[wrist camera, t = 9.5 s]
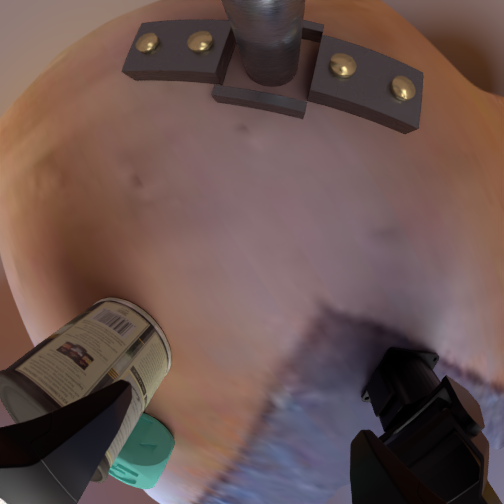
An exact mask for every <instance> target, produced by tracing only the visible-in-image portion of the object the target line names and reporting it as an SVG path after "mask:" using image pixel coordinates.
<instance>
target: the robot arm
mask: <svg viewBox="0 0 504 504" xmlns="http://www.w3.org/2000/svg"><path fill="white" fill-rule="evenodd" d="M391 352H393V353H392V354H390V353H391ZM438 360H439V356H438V354H437V353H431V352H423V351H415V350H408V349H402V348H395V347H391V348H389V349H388V350H387V352H386V354H385V355H384V357H383V359H382V361H381V363H380V365H379V367H378V368H377V369H376V371H375V373H374V374H373V376H372V378H371V380H370V381H369V383H368V385H367V386H366V389H365V391H364V393H363V394H362V396H361V398H362V401H363V402H371V404H372V407H373V410H374V413H375V415H376V417H379V418H380V421H381V424H382V427H383V430H384V432H385V433H384V434H383V435H381V436H380V437H379V438H378V437H377V436H376V435H375V434H374V433H373V432H372V431H371V430H361V431H360V432H359V433H358V434H357V435H356V437H355V438H354V439H353V441H352V442H351V451H350V481H351V491H352V492H351V493H352V504H502V502H501V501H500V499H499V497H498V496H497V494H496V493H495V491H494V490H493V488H492V487H491V485H490V484H489V482H488V480H487V476H488V464H489V463H488V462H489V442H488V440H487V439H486V437H485V436H484V434H483V433H482V432H481V430H482V429H483V428H484V427H485V425H484V421H483V417H482V413H481V409H480V405H479V404H478V403H477V401H476V400H475V399H474V398H473V396H472V395H471V394H470V393H469V391H468V390H467V389H465V388H464V387H462V386H461V385H460V384H458V383H457V382H455V381H454V380H453V379H451V378H450V377H448V376H447V375H446V376H445V377H444V378H443V379H442V382H440V380H439V379H438V377H437V376H436V374H435V373H434V371H433V368H434V367H435V365H436V363H437V361H438ZM365 397H366V398H365ZM131 401H132V385H131V383H130V382H128V381H125V380H123V379H120V380H118V381H116V382H114V383H112V384H110V385H108V386H106V387H104V388H102V389H100V390H98V391H96V392H93V393H91V394H89V395H87V396H85V397H83V398H81V399H79V400H76V401H74V402H72V403H70V404H68V405H66V406H63V407H61V408H59V409H57V410H54V411H52V412H50V413H47V414H45V415H42V416H40V417H37V418H35V419H32V420H28V421H25V422H21V423H17V424H13V425H9V426H5V427H0V504H77V503H78V501H79V499H80V498H81V496H82V494H83V492H84V490H85V489H86V487H87V485H88V483H89V481H90V480H91V478H92V476H93V475H94V473H95V471H96V469H97V468H98V466H99V464H100V462H101V461H102V459H103V457H104V455H105V454H106V452H107V450H108V449H109V447H110V445H111V443H112V442H113V440H114V438H115V437H116V435H117V433H118V431H119V429H120V427H121V424H122V422H123V420H124V417H125V415H126V413H127V410H128V408H129V406H130V403H131Z"/></svg>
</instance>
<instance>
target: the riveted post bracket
mask: <svg viewBox="0 0 504 504" xmlns="http://www.w3.org/2000/svg"><path fill="white" fill-rule="evenodd" d="M323 29H324V25H323V24H319V23H314V22H310V21H305V20H303V27H302V36H301V38H302V39H307V40H311V41H315V42H319V43H320V46H319V50H318V55H317V60H316V64H315V69H314V73H313V78H312V82H311V86H310V91H309V95H308V100H307V101H310V102H314V103H318V104H321V105H325V106H328V107H332V108H335V109H338V110H341V111H345V112H348V113H351V114H354V115H357V116H360V117H362V118H365V119H368V120H371V121H373V122H376V123H379V124H381V125H384V126H386V127H389V128H391V129H394V130H396V131H398V132H401V133H403V134H407V133H409V132H412V131H414V130H417V129H419V121H420V112H421V102H422V89H423V72H421V71H419V70H417V69H414V68H412V67H410V66H408V65H406V64H404V63H402V62H399V61H397V60H395V59H392V58H390V57H388V56H385V55H383V54H380V53H378V52H375V51H372V50H370V49H367V48H364V47H361V46H358V45H355V44H352V43H349V42H346V41H343V40H339V39H336V38H332V37H329V36H325V35H322V33H323ZM321 37H322V38H321ZM320 41H321V42H320ZM235 44H236V39H235V36H234V33H233V30H232V28H231V25H230V22H229V20H171V21H158V22H148V23H142V24H141V26H140V28H139V30H138V33H137V35H136V37H135V39H134V41H133V44H132V46H131V49H130V51H129V53H128V56H127V58H126V61H125V64H124V66H123V69H122V72H123V73H125V74H126V75H128V76H129V77H131V78H132V79H134V80H163V81H186V82H200V83H211V84H220V85H222V84H223V81H224V78H225V75H226V71H227V68H228V65H229V62H230V59H231V56H232V53H233V50H234V47H235ZM211 95H212V96H213V98H214V99H215V100H216V101H217V102H219V103H226V104H232V105H239V106H245V107H250V108H256V109H261V110H266V111H271V112H276V113H280V114H285V115H289V116H293V117H297V118H301V119H303V117H304V114H305V110H306V106H307V102H305V101H301V100H297V99H293V98H289V97H284V96H280V95H275V94H270V93H265V92H259V91H253V90H247V89H241V88H234V87H227V86H218V85H214V88H213V91H212V94H211Z"/></svg>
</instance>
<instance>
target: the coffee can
mask: <svg viewBox="0 0 504 504" xmlns="http://www.w3.org/2000/svg"><path fill="white" fill-rule="evenodd" d="M170 366H171V351H170V346H169V344H168V341H167V339H166V337H165V335H164V333H163V331H162V330H161V328H160V327H159V326H158V324H157V323H156V322H155V321H154V319H153V318H152V317H151V316H150V315H149V314H148V313H147V312H145V311H144V310H142V309H141V308H139V307H138V306H136V305H135V304H133V303H131V302H129V301H126V300H123V299H119V298H112V297H110V298H104V299H101V300H99V301H97V302H96V303H95V304H93V306H91V307H90V308H88V309H87V310H86V311H84V312H83V313H81V314H80V315H79V316H77V317H76V318H74V319H73V320H71V321H70V322H69V323H67V324H66V325H64V326H63V327H62V328H60V329H59V330H58V331H56V332H55V333H53V334H52V335H51V336H49V337H48V338H47V339H45V340H44V341H42V342H41V343H40V344H38V345H37V346H36V347H34V348H33V349H32V350H31V351H29V352H28V353H26V354H25V355H24V356H23V357H21V358H20V359H19V360H17V361H16V362H15V363H14V364H12V365H11V366H10V367H9V368H7V369H6V370H2V371H0V399H1V401H2V402H3V405H4V406H5V408H6V410H7V411H8V413H9V414H10V416H11V417H12V419H13V420H14V421H15V423H16V424H17V423H21V422H25V421H28V420H32V419H35V418H37V417H40V416H42V415H45V414H47V413H50V412H52V411H54V410H57V409H59V408H61V407H63V406H66V405H68V404H70V403H72V402H74V401H76V400H79V399H81V398H83V397H85V396H87V395H89V394H91V393H93V392H96V391H98V390H100V389H102V388H104V387H106V386H108V385H110V384H112V383H114V382H116V381H118V380H120V379H123V380H125V381H128V382H130V383H131V385H132V401H131V403H130V406H129V408H128V410H127V413H126V415H125V417H124V420H123V422H122V424H121V427H120V429H119V431H118V433H117V435H116V437H115V438H114V440H113V442H112V443H111V445H110V447H109V449H108V450H107V452H106V454H105V455H104V457H103V459H102V461H101V462H100V464H99V466H98V468H97V469H96V471H95V473H94V475H93V476H92V478H91V480H90V481H93V482H98V483H100V482H104V481H105V480H106V478H107V476H108V474H109V469H110V468H111V466H112V464H113V462H114V461H115V459H116V457H117V456H118V454H119V452H120V451H121V449H122V447H123V445H124V444H125V442H126V440H127V438H128V437H129V435H130V433H131V432H132V430H133V428H134V427H135V425H136V423H137V422H138V420H139V418H140V416H141V415H142V413H143V411H144V410H145V408H146V406H147V405H148V403H149V401H150V400H151V398H152V396H153V395H154V393H155V391H156V390H157V388H158V386H159V385H160V383H161V382H162V380H163V378H164V377H165V376H166V375H167V373H168V371H169V369H170Z"/></svg>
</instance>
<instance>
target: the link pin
mask: <svg viewBox="0 0 504 504" xmlns="http://www.w3.org/2000/svg"><path fill="white" fill-rule="evenodd" d="M221 1H222V3H223V6H224V8H225V11H226V14H227V17H228V19H229V22H230V25H231V28H232V30H233V33H234V36H235V39H236V42H237V45H238V47H239V50H240V53H241V56H242V59H243V62H244V65H245V68H246V71H247V74H248V75H249V77H250V78H251V79H252V80H253V81H255V82H256V83H258V84H261V85H264V86H270V87H273V86H280V85H283V84H286V83H288V82H289V81H291V80H292V79H293V78H294V76H295V75H296V73H297V70H298V63H299V54H300V46H301V36H302V27H303V17H304V8H305V0H221Z"/></svg>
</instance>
